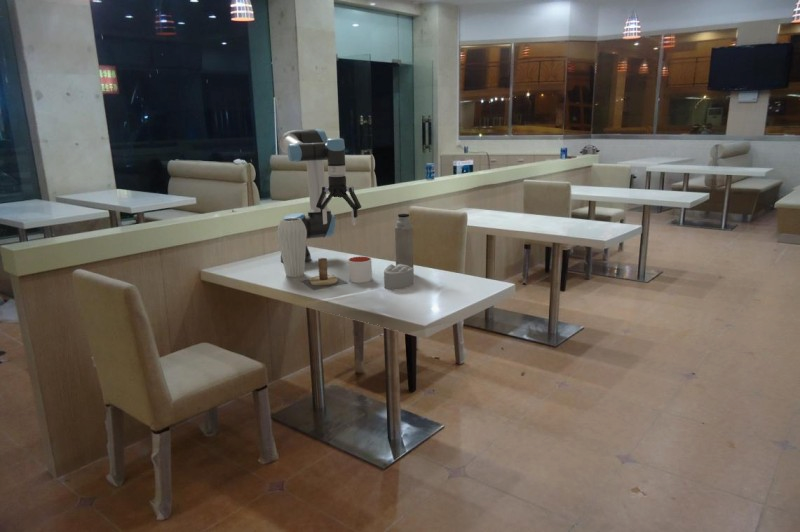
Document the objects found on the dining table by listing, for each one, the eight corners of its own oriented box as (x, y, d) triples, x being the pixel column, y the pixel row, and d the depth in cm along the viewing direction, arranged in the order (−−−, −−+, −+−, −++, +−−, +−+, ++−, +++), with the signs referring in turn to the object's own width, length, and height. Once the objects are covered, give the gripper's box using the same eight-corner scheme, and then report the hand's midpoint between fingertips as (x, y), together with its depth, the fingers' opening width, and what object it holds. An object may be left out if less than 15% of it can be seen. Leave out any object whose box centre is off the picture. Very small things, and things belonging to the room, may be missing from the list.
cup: (368, 284, 243) (367, 262, 240) (346, 284, 245) (345, 261, 242) (374, 278, 252) (373, 256, 250) (352, 277, 254) (351, 256, 252)
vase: (312, 278, 255) (308, 220, 248) (282, 281, 251) (277, 223, 244) (307, 270, 267) (303, 216, 260) (278, 273, 263) (274, 218, 256)
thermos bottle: (400, 271, 262) (399, 212, 254) (416, 273, 258) (415, 213, 251) (393, 276, 255) (391, 215, 247) (409, 278, 251) (408, 216, 244)
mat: (299, 282, 249) (299, 281, 249) (333, 276, 257) (332, 275, 257) (313, 291, 236) (313, 289, 236) (348, 284, 244) (348, 283, 243)
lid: (305, 281, 248) (304, 258, 245) (330, 276, 254) (329, 254, 251) (316, 288, 238) (314, 264, 235) (342, 283, 244) (340, 259, 241)
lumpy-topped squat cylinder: (416, 284, 243) (416, 264, 240) (396, 291, 233) (396, 271, 231) (398, 280, 249) (397, 261, 247) (378, 287, 240) (377, 267, 237)
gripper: (306, 176, 241) (309, 224, 247) (361, 177, 234) (363, 227, 240) (314, 174, 248) (317, 221, 254) (367, 174, 241) (369, 223, 247)
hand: (339, 224), depth 247 cm, fingers open, 13 cm apart
